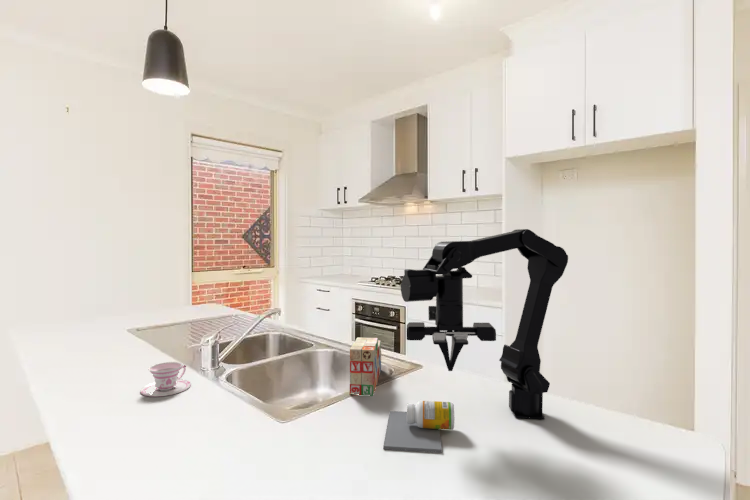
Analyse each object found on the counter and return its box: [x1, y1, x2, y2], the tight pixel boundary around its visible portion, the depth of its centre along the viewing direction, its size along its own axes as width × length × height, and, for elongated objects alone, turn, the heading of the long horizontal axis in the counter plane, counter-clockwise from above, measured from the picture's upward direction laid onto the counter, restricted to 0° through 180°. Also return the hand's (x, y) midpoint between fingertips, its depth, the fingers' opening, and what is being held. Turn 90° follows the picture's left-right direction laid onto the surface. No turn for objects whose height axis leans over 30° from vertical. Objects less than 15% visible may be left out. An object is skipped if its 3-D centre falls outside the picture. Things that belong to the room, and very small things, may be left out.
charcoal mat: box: [382, 410, 443, 454], centre depth 85 cm, size 11×16×1 cm
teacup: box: [140, 361, 192, 398], centre depth 108 cm, size 12×12×6 cm
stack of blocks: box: [349, 336, 382, 397], centre depth 114 cm, size 21×6×12 cm, turn 174°
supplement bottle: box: [406, 400, 455, 431], centre depth 85 cm, size 5×5×10 cm
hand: (450, 370), depth 88 cm, fingers closed
